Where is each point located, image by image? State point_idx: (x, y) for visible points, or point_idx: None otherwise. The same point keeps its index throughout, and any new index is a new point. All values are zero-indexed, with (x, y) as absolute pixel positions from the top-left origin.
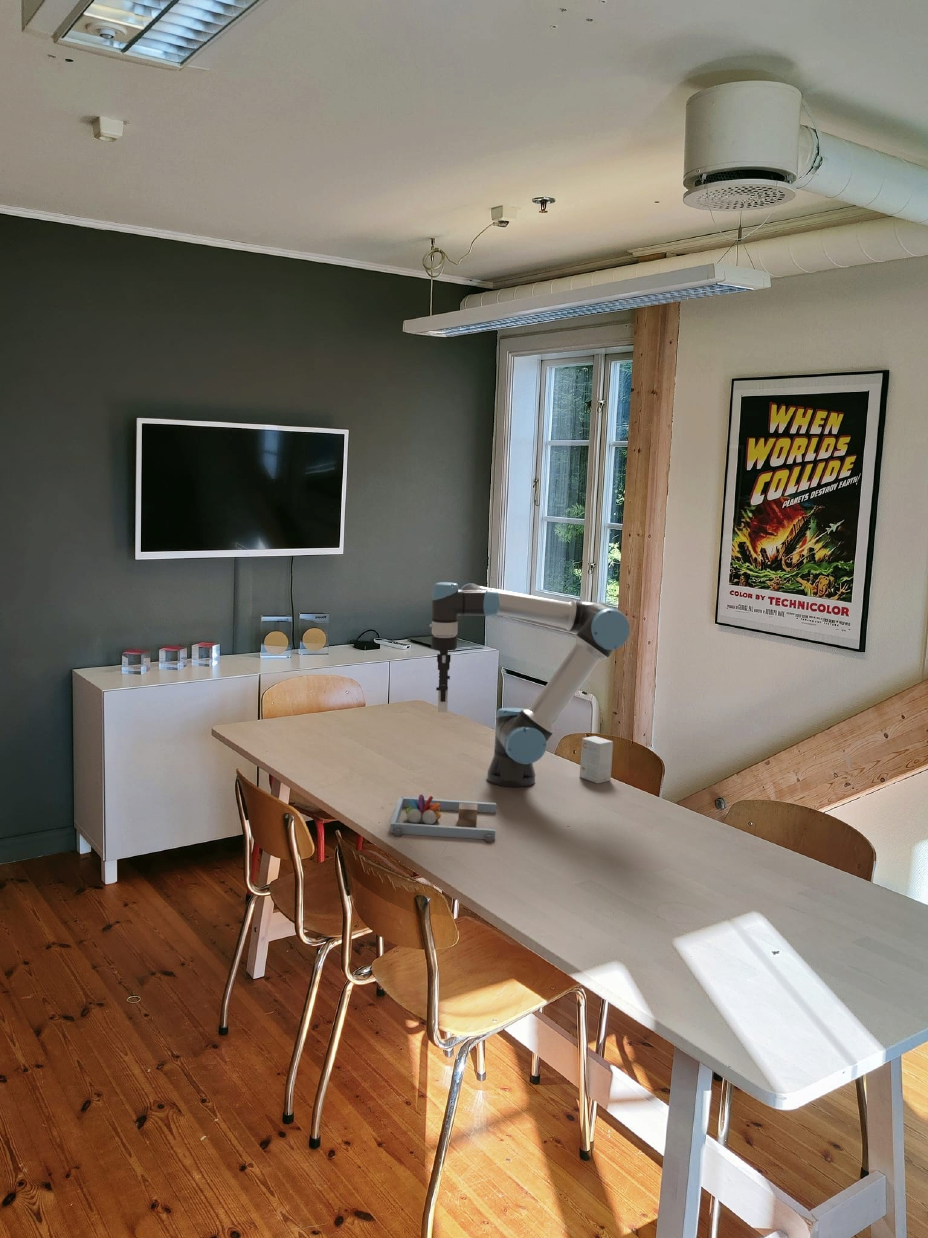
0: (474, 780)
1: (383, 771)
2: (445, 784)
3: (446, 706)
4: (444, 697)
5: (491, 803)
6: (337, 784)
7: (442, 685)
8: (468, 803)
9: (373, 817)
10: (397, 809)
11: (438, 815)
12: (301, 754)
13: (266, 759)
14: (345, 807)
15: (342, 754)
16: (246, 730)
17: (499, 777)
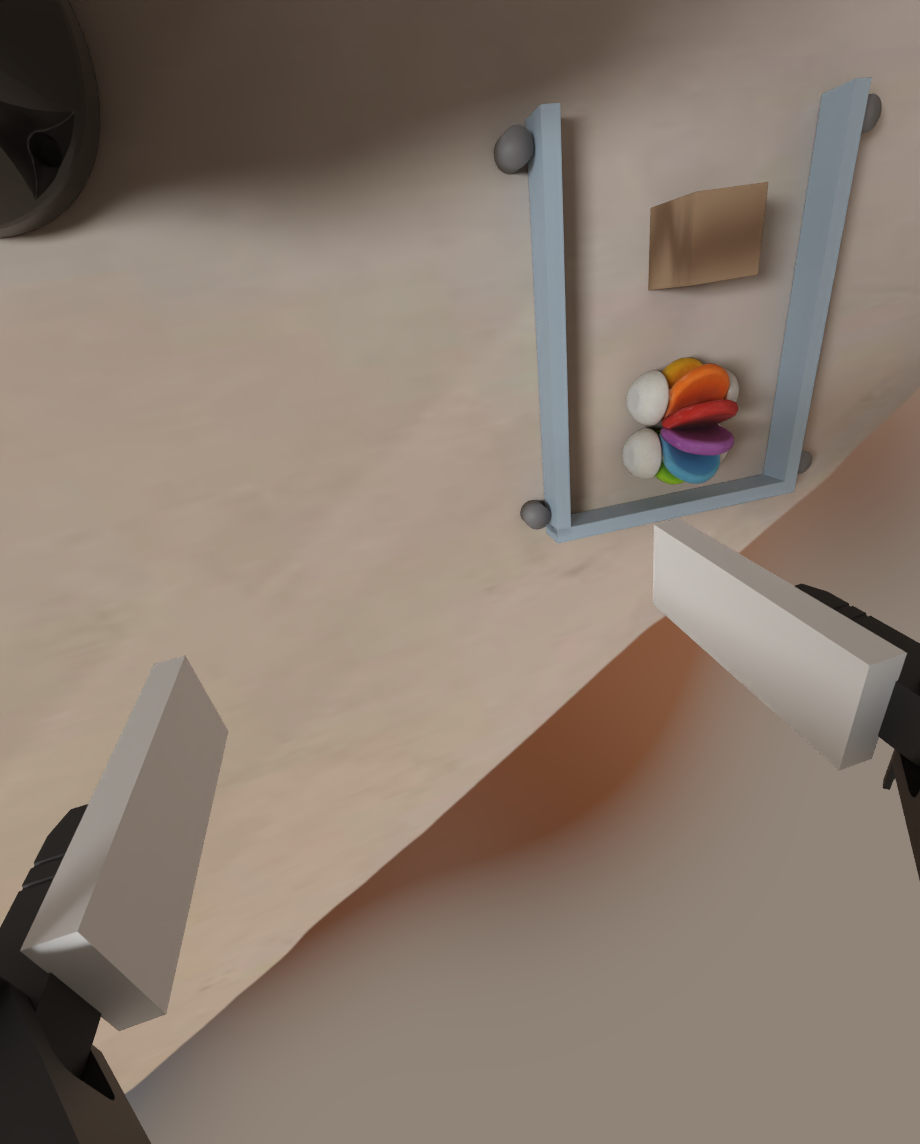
0: (89, 309)
1: None
2: (238, 438)
3: (718, 552)
4: (856, 621)
5: (549, 134)
6: (412, 747)
7: (160, 882)
8: (694, 240)
9: None
10: (676, 510)
11: (702, 364)
12: None
13: (278, 954)
14: (595, 655)
15: None
16: None
17: (76, 124)
